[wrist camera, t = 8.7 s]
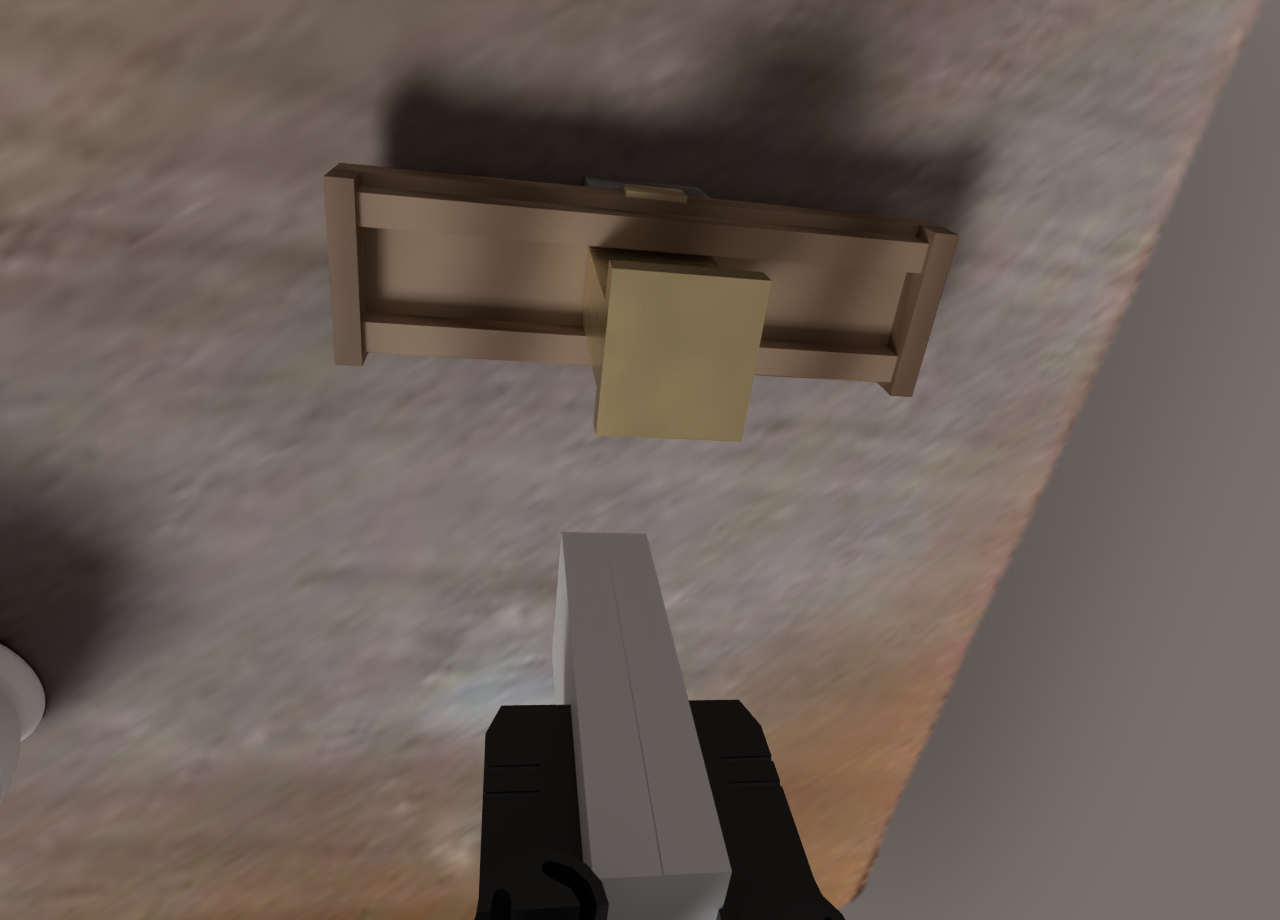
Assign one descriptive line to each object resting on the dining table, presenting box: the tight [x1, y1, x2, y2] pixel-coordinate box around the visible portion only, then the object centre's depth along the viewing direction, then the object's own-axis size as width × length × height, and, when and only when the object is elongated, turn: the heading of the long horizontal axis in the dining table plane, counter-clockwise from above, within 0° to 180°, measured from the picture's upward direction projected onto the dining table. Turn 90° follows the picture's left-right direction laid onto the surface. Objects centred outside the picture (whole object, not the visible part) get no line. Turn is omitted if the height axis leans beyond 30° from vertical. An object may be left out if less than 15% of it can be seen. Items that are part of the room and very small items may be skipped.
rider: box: [582, 247, 772, 442], centre depth 30 cm, size 5×6×8 cm
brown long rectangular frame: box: [324, 163, 959, 397], centre depth 34 cm, size 24×8×6 cm, turn 84°
